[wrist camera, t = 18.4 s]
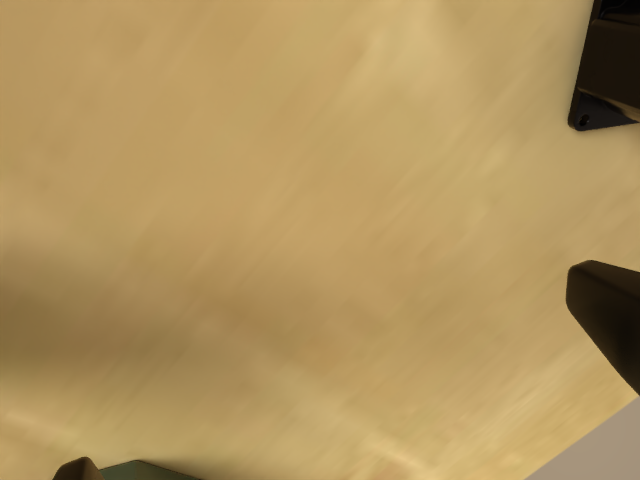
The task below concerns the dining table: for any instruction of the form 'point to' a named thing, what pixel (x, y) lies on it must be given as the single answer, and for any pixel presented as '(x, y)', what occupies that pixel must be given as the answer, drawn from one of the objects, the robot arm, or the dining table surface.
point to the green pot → (141, 472)
